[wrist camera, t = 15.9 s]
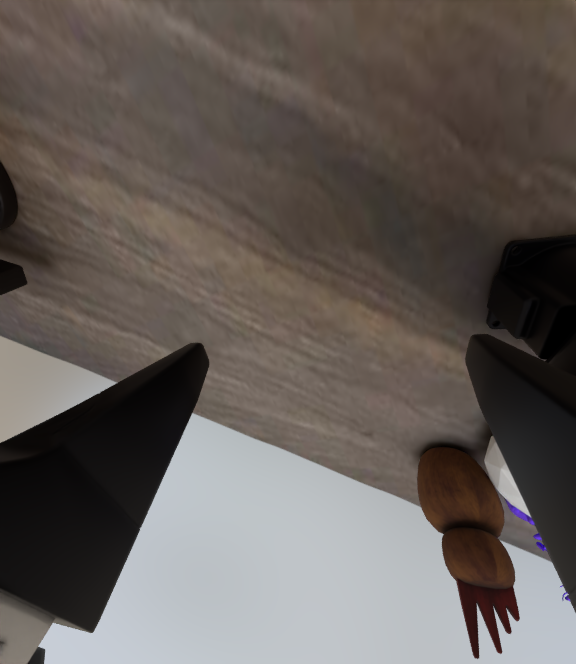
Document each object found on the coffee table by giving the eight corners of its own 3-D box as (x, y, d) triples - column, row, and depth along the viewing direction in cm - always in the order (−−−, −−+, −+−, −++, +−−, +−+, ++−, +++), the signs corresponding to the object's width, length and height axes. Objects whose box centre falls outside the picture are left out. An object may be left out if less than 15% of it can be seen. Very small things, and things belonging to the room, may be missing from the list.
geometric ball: (519, 514, 27) (632, 502, 22) (509, 544, 21) (657, 536, 17) (476, 434, 30) (566, 410, 26) (457, 441, 25) (568, 412, 20)
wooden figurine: (403, 462, 32) (437, 655, 20) (424, 433, 29) (479, 642, 17) (462, 477, 32) (534, 684, 19) (489, 448, 28) (597, 676, 16)
